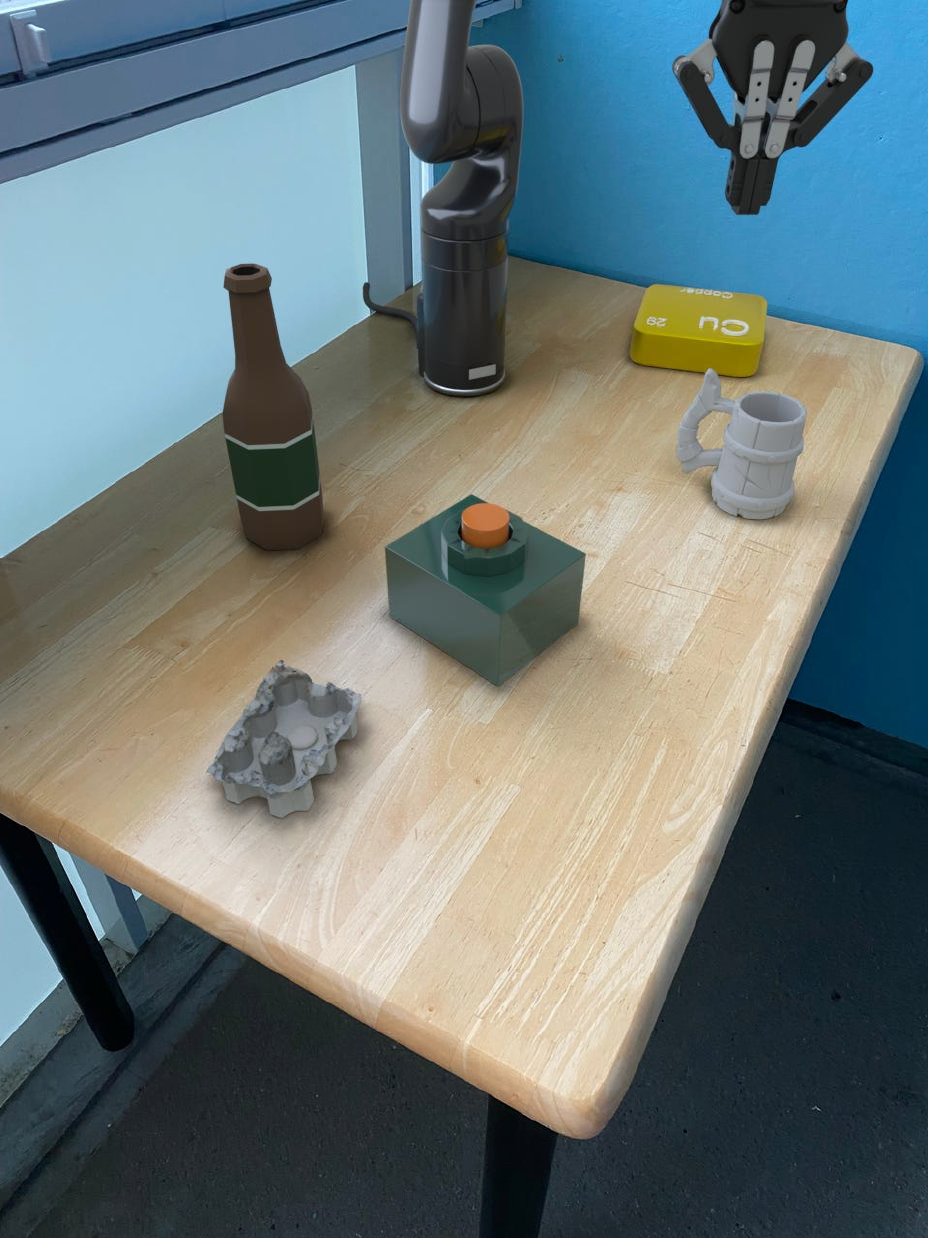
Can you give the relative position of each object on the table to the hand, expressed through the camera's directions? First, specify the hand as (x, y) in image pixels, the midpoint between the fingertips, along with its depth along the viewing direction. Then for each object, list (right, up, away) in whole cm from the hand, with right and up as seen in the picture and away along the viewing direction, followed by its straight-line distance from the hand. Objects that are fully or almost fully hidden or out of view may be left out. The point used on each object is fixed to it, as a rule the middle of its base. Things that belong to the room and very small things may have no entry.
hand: (743, 211), depth 65 cm
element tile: (+9, +5, +50) cm, 51 cm away
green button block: (-18, -29, +11) cm, 36 cm away
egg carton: (-32, -39, 0) cm, 50 cm away
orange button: (-18, -22, +6) cm, 29 cm away
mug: (+6, -17, +25) cm, 31 cm away
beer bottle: (-36, -20, +21) cm, 47 cm away
